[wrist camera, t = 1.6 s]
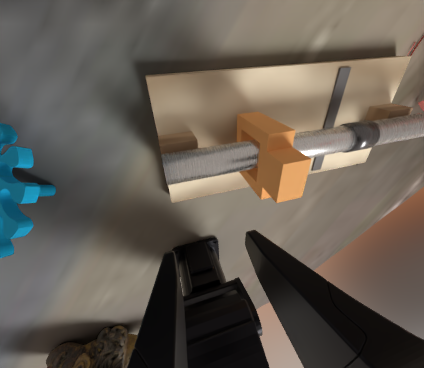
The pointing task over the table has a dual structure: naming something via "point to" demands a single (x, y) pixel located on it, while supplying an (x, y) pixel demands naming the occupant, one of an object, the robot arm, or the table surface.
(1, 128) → the gear
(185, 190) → the tube stand
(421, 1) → the table surface
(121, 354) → the brown carved figurine
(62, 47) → the table surface
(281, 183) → the collar
